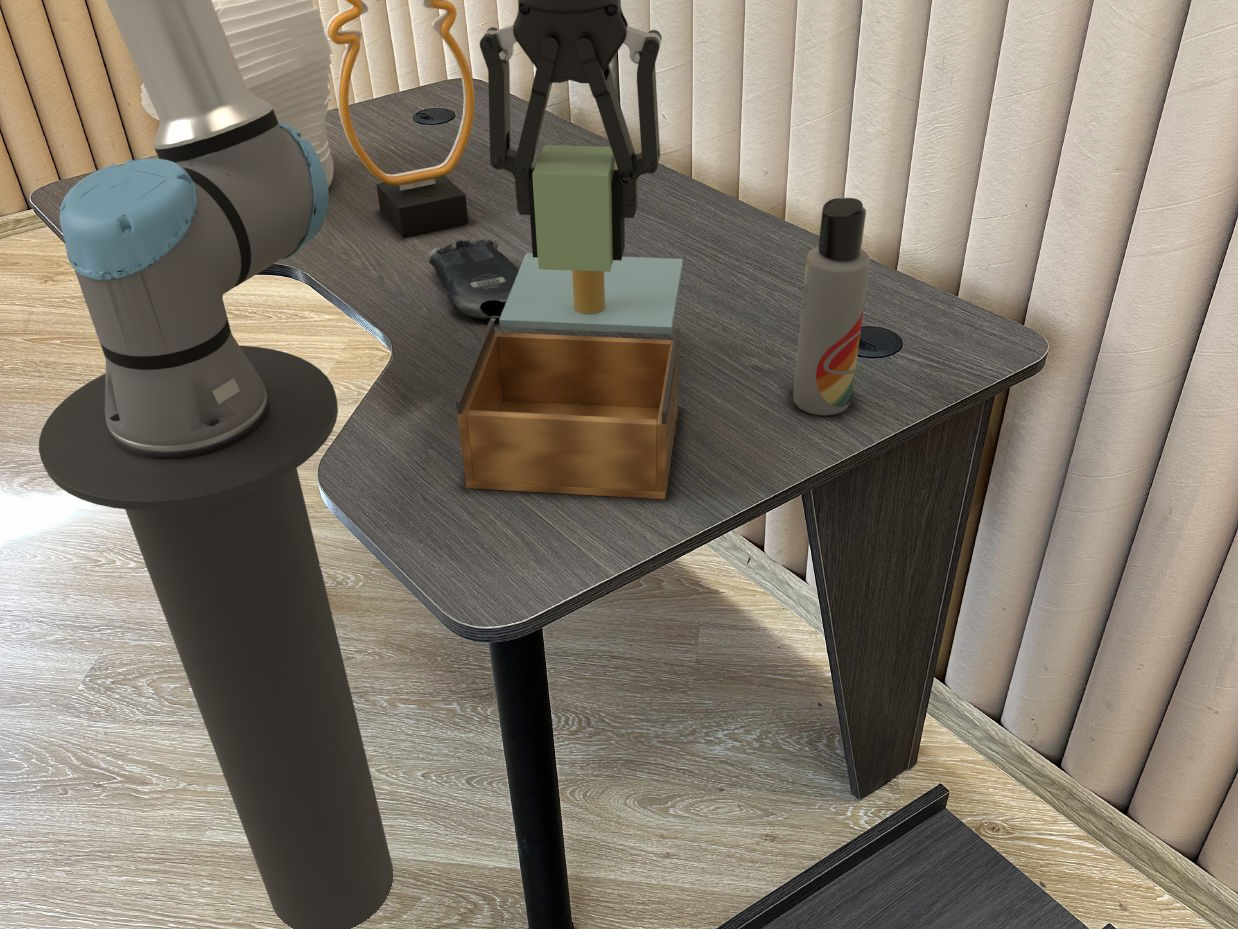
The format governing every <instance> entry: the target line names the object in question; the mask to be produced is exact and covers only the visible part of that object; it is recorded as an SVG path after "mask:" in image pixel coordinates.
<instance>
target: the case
mask: <svg viewBox="0 0 1238 929" xmlns="http://www.w3.org/2000/svg"><path fill="white" fill-rule="evenodd" d="M680 330H681V329H680V328H675V330H674V335H673V339H659V338H658V339H657V338H639V337H638V338H637V337H636V338H635V337H613V336H612V337H611V336H590V335H567V334H545V333H544V334H543V333H542V334H541V333H522V332H521V333H520V332H519V333H518V332H502V331H501V332H499V331H495V321H492V320H489V321H488V323H487V325H486V328H485V330H484V333H483V335H482V337H481V340H480V342H479V345H478V347H477V350H476V352H475V355H474V357H473V359H472V362H471V363H470V364H471V365H470V366H469V369H468V371H467V374H466V376H465V379H464V382H463V384H462V386H461V388H460V391H459V393H458V396H457V399H456V401H455V406H456V414H457V424H458V431H459V437H460V438H459V439H460V445H461V454H462V463H463V471H464V478H465V488H466V489H475V490H491V491H492V490H495V491H509V492H525V493H526V492H527V493H528V492H529V493H542V494H543V493H545V494H546V493H547V494H548V493H549V494H560V495H561V494H563V495H581V496H597V497H615V498H634V499H648V500H649V499H651V500H666V496H667V488H668V482H669V476H670V475H669V474H670V469H671V460H672V455H673V447H674V440H675V434H676V426H677V420H678V413H679V381H680V380H679V378H680V376H679V374H680V334H681V333H680V332H681V331H680Z"/></svg>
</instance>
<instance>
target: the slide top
mask: <svg viewBox="0 0 1238 929" xmlns="http://www.w3.org/2000/svg"><path fill="white" fill-rule="evenodd" d="M683 267H684V258H670V257H669V258H667V257H666V258H665V257H641V256H622V260H621V261H620V260H613V263H612V267H611V271H610V272H604V271H576V270H548V269H539V268H538V258H534V257H533V253H532V252H526V253H525V254H524V257H523V260H522V262H521V265H520V267H519V268H518V269H519V272H518V274H517V277H516V279H515V282H514V284H513V287H512V289H511V292H510V294H509V297H508V299H507V302H506V304H505V307H504V309H503V312H502V314H501V317H499V318H498V321H499V328H510V329H511V328H512V329H535V330H554V331H555V330H557V331H580V332H605V333H623V334H624V333H626V334H648V335H669V336H671V335H672V333H673V328H674V322H675V316H676V310H677V304H678V299H679V298H678V297H679V292H680V286H681V281H682V280H681V279H682V274H683V269H684V268H683Z"/></svg>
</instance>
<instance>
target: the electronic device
mask: <svg viewBox="0 0 1238 929" xmlns="http://www.w3.org/2000/svg"><path fill="white" fill-rule="evenodd" d="M499 246H500V243H499V242H498V240H497V239H496V238H493V237H490V238H485V239H481V240H476V241H471V240H470V239H464V240H463V239H459V240H455V245H454V246H453V243H448V244H446V245H445V246H443V247H435V248H433V249H432V250H431V252H429V256H428V264H430V265H431V266H432V267H433V270H434V271H435V272H436V274H437V276H438V277H439V279H440V281H441V283H442V284H443V286H444V288H445V289H446V291H447V293H448V299H449V302H450V304H451V305H452V307H453V309H454V310H456V312H458V313H461V314H462V315H465V316H466V317H470V318H475V319H480V320H481V319H482V320H483V319H484V320H490V321H494V322H495V321H496V319H500V317H501V314H502V312H503V309H504V307H505V304H506V302H507V299H508V297H509V294H510V292H511V289H512V287H513V284H514V282H515V279H516V277H517V274H518V272H519V269H520V268H518V267H517V266H516V265H515V264H514V263H513V262H512V261H511V260H510V259H509V258H508V257H507V256H505V255H504V254H503V253H502V252H501V251H499V250H498V248H499Z"/></svg>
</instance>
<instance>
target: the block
mask: <svg viewBox="0 0 1238 929" xmlns="http://www.w3.org/2000/svg"><path fill="white" fill-rule="evenodd" d="M534 167H535V168H534V171H533V173H532V175H533V191H534V206H535V222H536V238H537V254H538V268H539V269H548V270H576V271H604V272H610V271H611V267H612V263H613V249H612V194H611V182H612V178H613V175H614V172H615V170H618V168H617V164H616V161H615V158H614V155H613V152H612V149H611V146H597V145H596V146H592V145H560V144H559V145H553V144H552V145H551V144H544V145H543V147H542V149H541V152H540V154H539V157H538V158H537V161H536V164H535V166H534Z"/></svg>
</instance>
